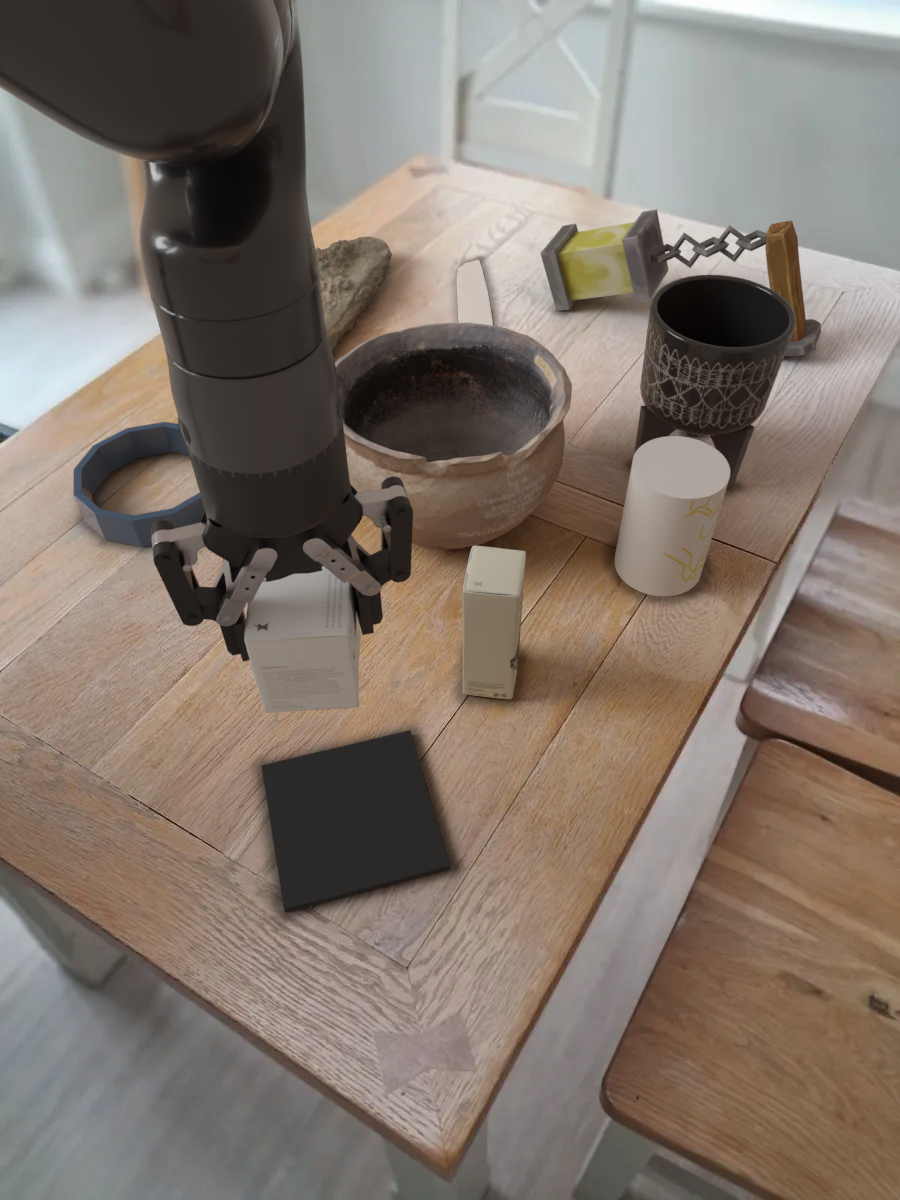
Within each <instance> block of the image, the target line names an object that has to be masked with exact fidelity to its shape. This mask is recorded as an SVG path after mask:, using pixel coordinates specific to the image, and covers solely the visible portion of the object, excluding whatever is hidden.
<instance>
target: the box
mask: <svg viewBox="0 0 900 1200" xmlns="http://www.w3.org/2000/svg"><path fill="white" fill-rule="evenodd" d="M526 556H527V552H526V550H519V549H511V548H501V547H494V546H493V547H492V546H484V545H474V546H471V548H470V552H469V556H468V561H467V565H466V570H465V574H464V581H463V586H462V596H461V597H462V599H461V600H462V605H461V606H462V619H461V621H462V694H463V695H468V696H476V697H484V698H493V699H502V700H512V699H513V698H514V692H515V687H516V681H517V675H518V667H519V666H518V665H519V657H520V656H519V655H520V645H521V644H520V642H521V641H520V640H521V628H522V627H521V625H522V613H523V599H524V598H523V597H524V595H523V594H524V581H525V580H524V577H525V567H526V559H527V558H526Z"/></svg>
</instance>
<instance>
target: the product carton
mask: <svg viewBox="0 0 900 1200" xmlns="http://www.w3.org/2000/svg"><path fill="white" fill-rule="evenodd" d="M246 607H247V608H246V615H245V617H246V625H245V634H244V641H245V644H246V648H247V652H248V655H249V659H250V660H249V662H250V666H251V669H252V674H253V677H254V680H255V684H256V687H257V690H258V694H259V696H260V701H261V704H262V709H263V711H264V712H265V713H269V714H270V713H290V712H306V711H308V712H309V711H324V710H325V711H327V710H343V709H356V708H358V707H360V693H359V691H360V690H359V681H360V680H359V679H360V678H359V671H360V653H361V642H362V631H361V628H360V624H359V621H358V617H357V613H356V607H355V599H354V592H353V586H352V585H351V584H350V583H349V582H348V581H347V582H346V583H343V582H342V581H341V580H340V579H338V578H337V577H336V576H335V575H334V574H332V573H331V572H330V571H329V570H328V569H326V568H325V567H324V566H322V571H318V572H313V573H304V574H292V575H290V576H287V577H285V578H282V579H279V580H274V581H269V582H267V581H266V578H264V579H263V581H262V583H261V585H260V587H259V589H258V591H257V593H256V595H255V597H254V599H253V601H252V602H251V603H249V602H247V606H246Z"/></svg>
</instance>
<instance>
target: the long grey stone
mask: <svg viewBox="0 0 900 1200" xmlns="http://www.w3.org/2000/svg"><path fill="white" fill-rule="evenodd" d="M315 250H316V257H317V263H318V269H319V277H320V285H321V294H322V302H323V310H324V318H325V325H326V331H327V336H328V340H329V343H330V347H331V350H332V352H333V351H334V350H335V348H336V347H337V345H338V344H337V343H339V342H340V340H341V339H342V337H343V336H344V335H345V334H346V332H350V331H351V330H352V329H353V328H354V325H355V321H356V320H357V318H358V317H359V316H360V314H361V313H362V312H363V311H364V309H365V308H366V307H368V306H369V305H370V304H371V301H373V300H374V299H375V297H376V294H377V292H378V290H379V287H380V285H381V284H382V283H383V281H384V280H385V275H386V273H387V272H388V271H389V269H390V268H391V265H390V262H391V260H392V258H393V253H392V251H391V249H390V246H389V245H388V244H387V242H386V241H385V240H383V239H381V238H378V237H373V236H370V235H369V236H367V235H366V236H359V237H357V238H354V239H350V240H348V239H343V240H340V239H339V240H337V241H334V242H332V243H330V244H329V246H328V247H325V248H322V249H321V248H320V247H315Z"/></svg>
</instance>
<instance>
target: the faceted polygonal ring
mask: <svg viewBox="0 0 900 1200" xmlns="http://www.w3.org/2000/svg"><path fill="white" fill-rule="evenodd" d="M169 453H172V454H178V455H185V456H189V453H188V449H187V446H186V442H185V441H184V439H183V437H182V435H181V432H180V430H179V427H178V423H176V422H169V421H161V422H154V423H148V424H143V425H138V426H131V427H127V428H124V429H122V430H120V431H118V432H117V433H114V434H112V435H111V436H109V437H108V436H107V438H105V439H103V440H101V441H99V442H96V443H95V444H93V445H92V446H91V447H90V449H88V451H87V452H86V454H85V455H84V456H83V457H82V458H81V459H80V461H79V462H78V463H77V464H76V466H75V467H74V468H73V497H74V499H75V502H76V503H77V506H78V509H79V511H80V513H81V516H82V518H83V520H84V522H85V523H86V524H88V526H90V528H92V529H93V530H94V531H95V532H96V533H97V534H98V535H100V537H101V538H103V540H105V541H108V542H113V543H119V544H124V545H129V546H134V547H139V548H145V547H150V546H151V547H152V536H151V526H152V525H153V524H154V523H155V522H157V521H161V520H165V521H169V522H171V523H172V524H173V525H174V527H175V528H179V527H184V526H188V525H192V524H196V523H200V522H201V518H202V516H203V513H204V510H205V509H204V505H203V502H202V498H201V495H200V491H199V492H198V493H196V494H195V495H193V496H190V497H189V498H187V499H186V500H184V501H182V502H181V503H179V504H177V505H175V506H174V507H171V508H166V509H160V510H156V511H155V510H154V511H149V512H145V513H138V514H129V513H124V512H119V511H113V510H108V509H103V508H100V507H99V506H98V505H97V504H96V503H95V502H94V501H93V495H94V494H95V492H96V491H97V490H98V489H99V487H100V486H101V485H102V484H103V482H104V481H105V480H106V479H107V477H108V476H109V474H111V473H113V472H115V471H116V470H118V469H120V468H122V467H124V466H126V465H127V464H129V463H131V462H133V461H135V460H137V459H140V458H146V457H152V456H158V455H165V454H169Z"/></svg>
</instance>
